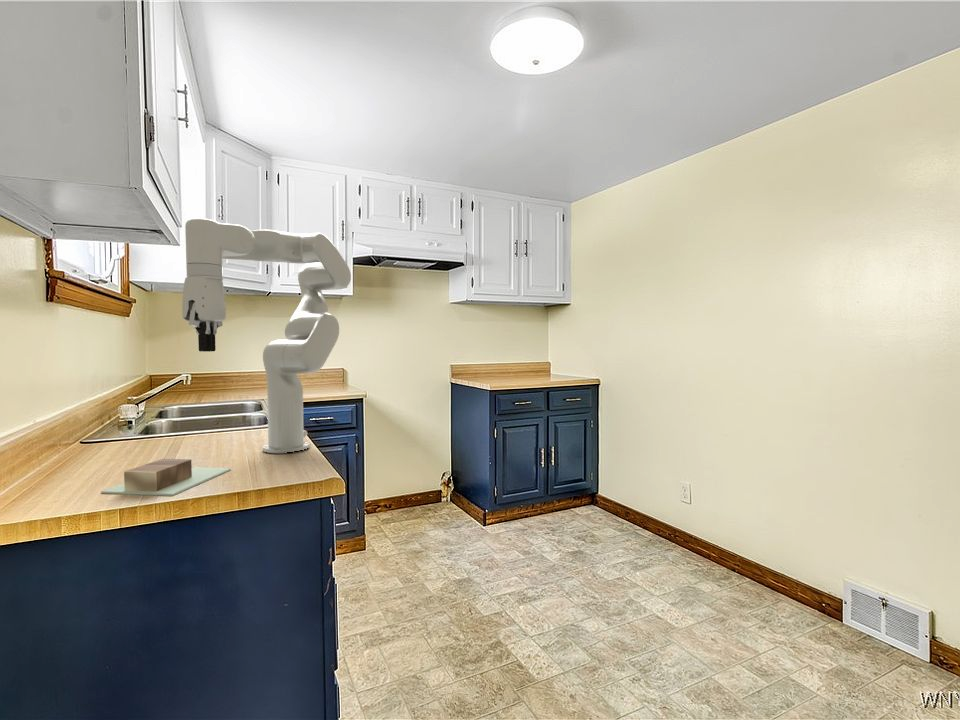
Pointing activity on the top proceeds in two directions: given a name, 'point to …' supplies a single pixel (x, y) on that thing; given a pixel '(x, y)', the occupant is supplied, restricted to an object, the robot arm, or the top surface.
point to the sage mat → (197, 478)
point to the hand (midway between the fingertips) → (207, 351)
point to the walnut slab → (157, 475)
